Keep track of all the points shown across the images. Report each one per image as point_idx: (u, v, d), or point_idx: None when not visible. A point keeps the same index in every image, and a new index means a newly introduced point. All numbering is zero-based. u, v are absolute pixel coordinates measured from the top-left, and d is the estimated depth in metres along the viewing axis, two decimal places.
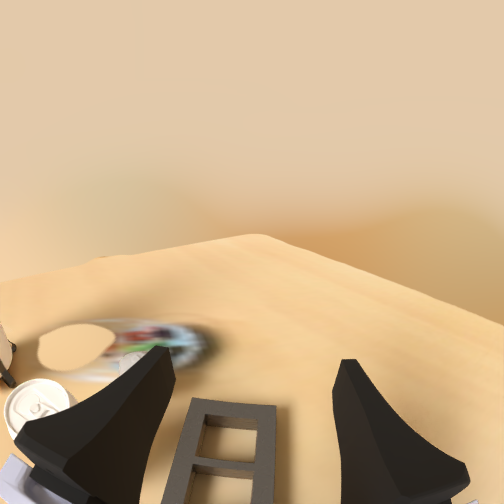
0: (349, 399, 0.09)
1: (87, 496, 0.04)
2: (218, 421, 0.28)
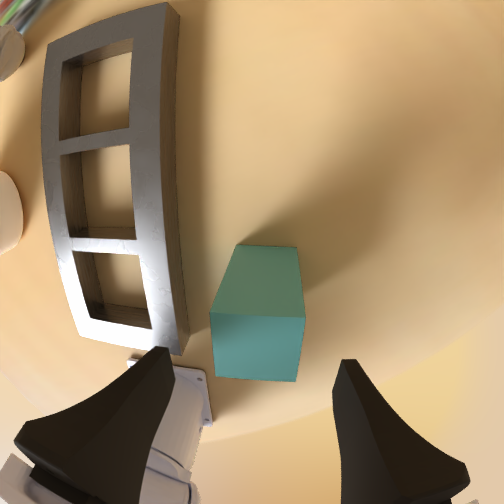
0: (349, 399, 0.09)
1: (87, 496, 0.04)
2: (87, 58, 0.13)
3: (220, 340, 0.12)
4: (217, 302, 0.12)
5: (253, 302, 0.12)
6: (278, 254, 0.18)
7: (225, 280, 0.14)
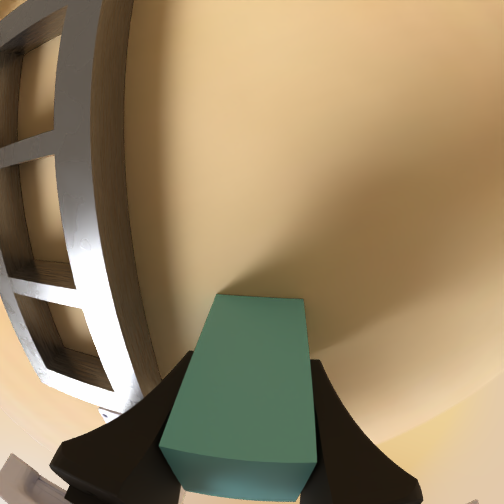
0: None
1: None
2: (23, 42, 0.07)
3: (182, 470, 0.06)
4: (172, 424, 0.06)
5: (230, 428, 0.06)
6: (276, 314, 0.12)
7: (190, 373, 0.08)
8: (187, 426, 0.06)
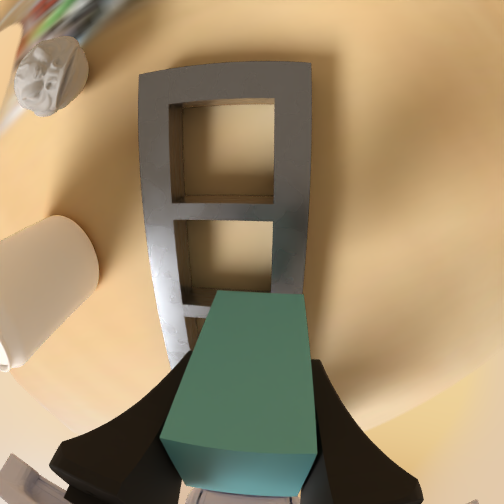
0: None
1: None
2: (199, 103, 0.15)
3: (183, 463, 0.06)
4: (173, 416, 0.07)
5: (230, 420, 0.07)
6: (276, 310, 0.12)
7: (191, 367, 0.08)
8: (188, 418, 0.07)
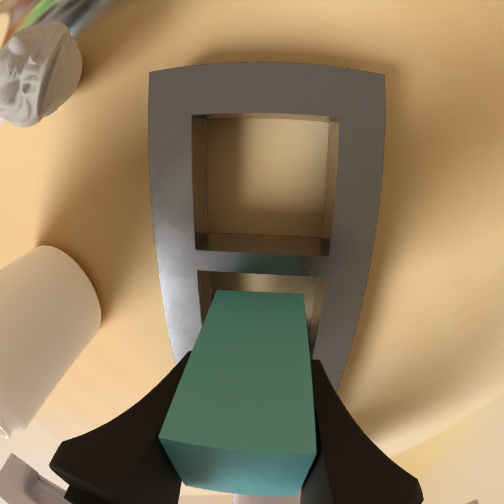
0: None
1: None
2: (232, 115, 0.11)
3: (182, 462, 0.06)
4: (172, 416, 0.07)
5: (229, 419, 0.07)
6: (276, 309, 0.12)
7: (190, 366, 0.08)
8: (187, 418, 0.06)
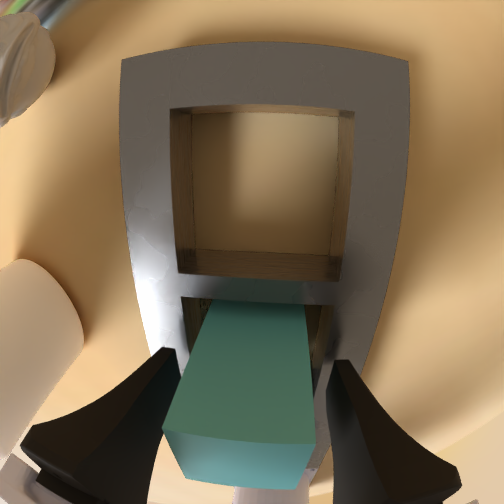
0: (341, 399, 0.09)
1: (96, 500, 0.04)
2: (222, 109, 0.09)
3: (184, 454, 0.07)
4: (175, 408, 0.07)
5: (231, 410, 0.07)
6: (276, 305, 0.12)
7: (193, 360, 0.09)
8: (190, 409, 0.07)
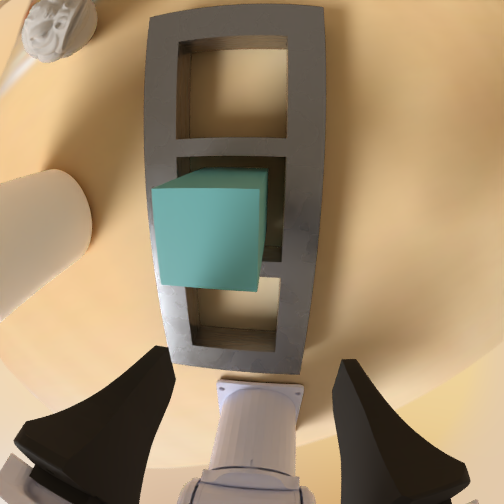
0: (349, 399, 0.09)
1: (87, 496, 0.04)
2: (210, 44, 0.13)
3: (163, 228, 0.10)
4: (163, 185, 0.11)
5: (202, 183, 0.11)
6: (246, 169, 0.16)
7: (180, 177, 0.13)
8: (173, 184, 0.11)
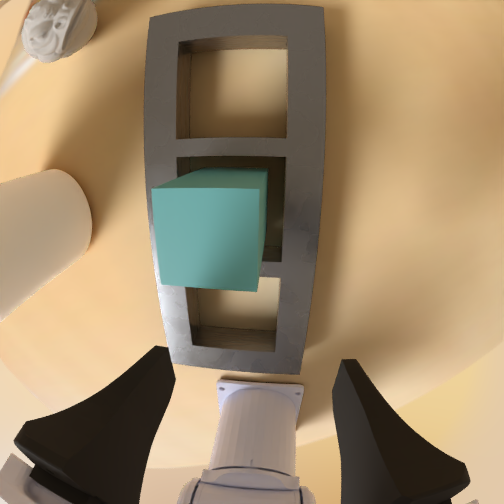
0: (349, 399, 0.09)
1: (87, 496, 0.04)
2: (210, 44, 0.13)
3: (163, 228, 0.10)
4: (163, 185, 0.11)
5: (202, 183, 0.11)
6: (246, 169, 0.16)
7: (180, 177, 0.13)
8: (173, 184, 0.11)
